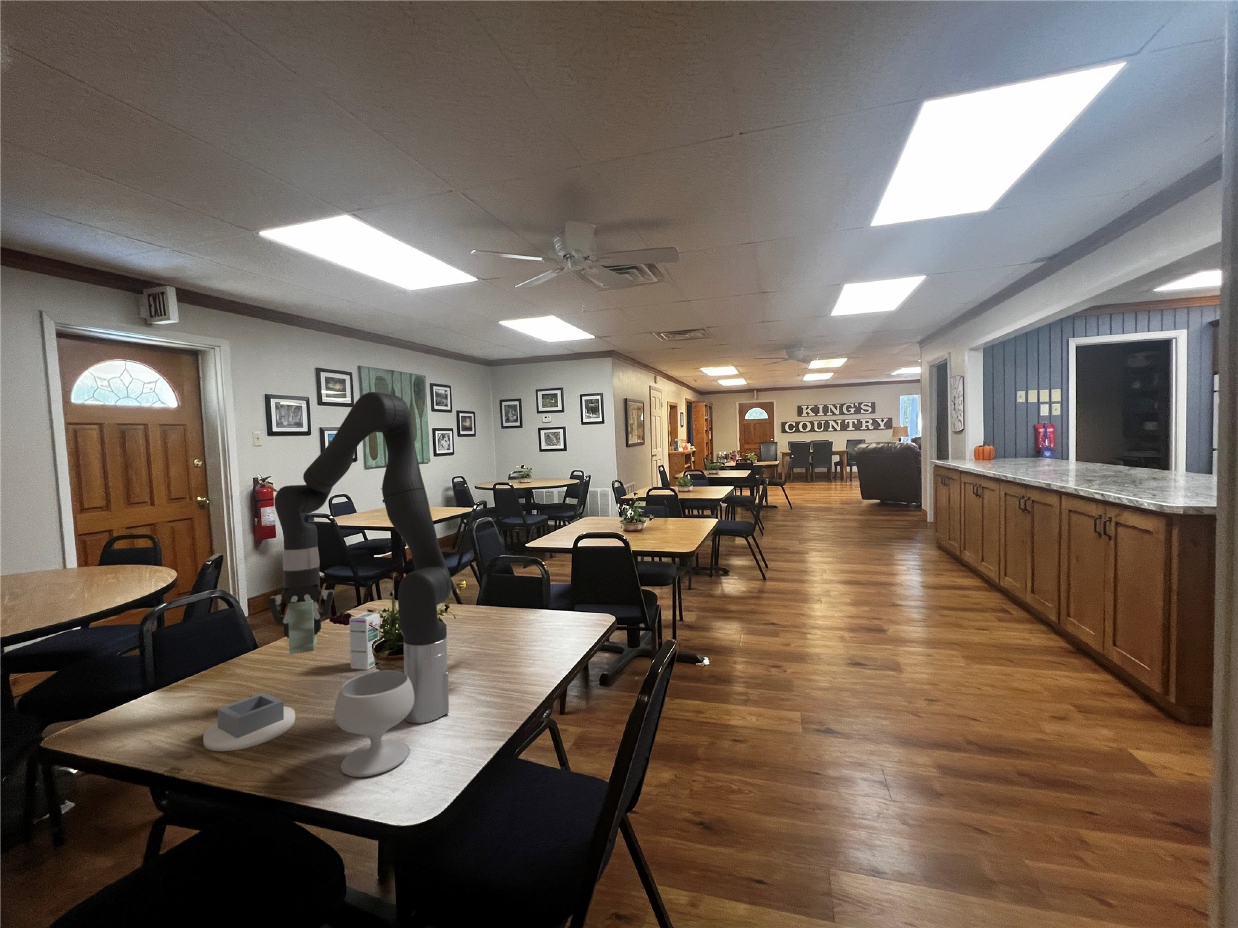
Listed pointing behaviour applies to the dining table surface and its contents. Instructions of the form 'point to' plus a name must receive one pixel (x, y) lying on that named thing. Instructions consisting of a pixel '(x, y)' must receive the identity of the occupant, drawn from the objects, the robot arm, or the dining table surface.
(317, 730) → the dining table surface
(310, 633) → the square peg
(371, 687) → the chalice
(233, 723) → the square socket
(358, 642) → the syrup box
